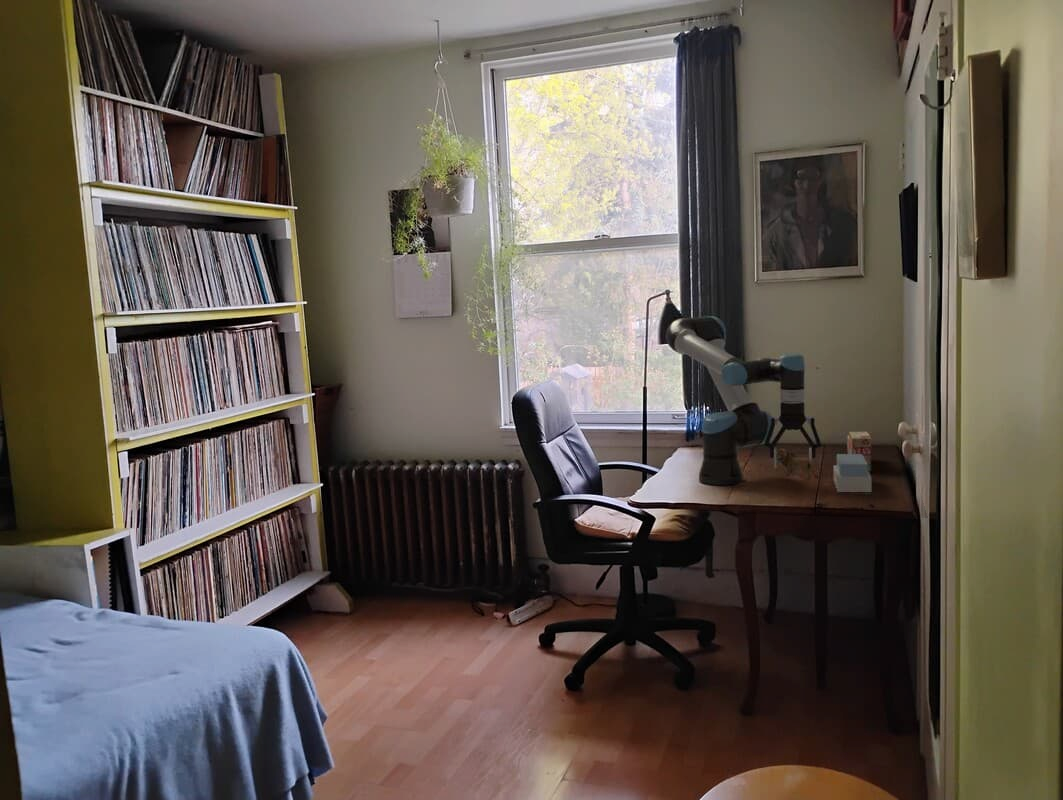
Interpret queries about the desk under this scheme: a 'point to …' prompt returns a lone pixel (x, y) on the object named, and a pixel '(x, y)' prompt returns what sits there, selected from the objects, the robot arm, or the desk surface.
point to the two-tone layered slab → (851, 473)
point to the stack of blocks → (860, 445)
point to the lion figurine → (794, 462)
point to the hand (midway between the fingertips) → (792, 467)
